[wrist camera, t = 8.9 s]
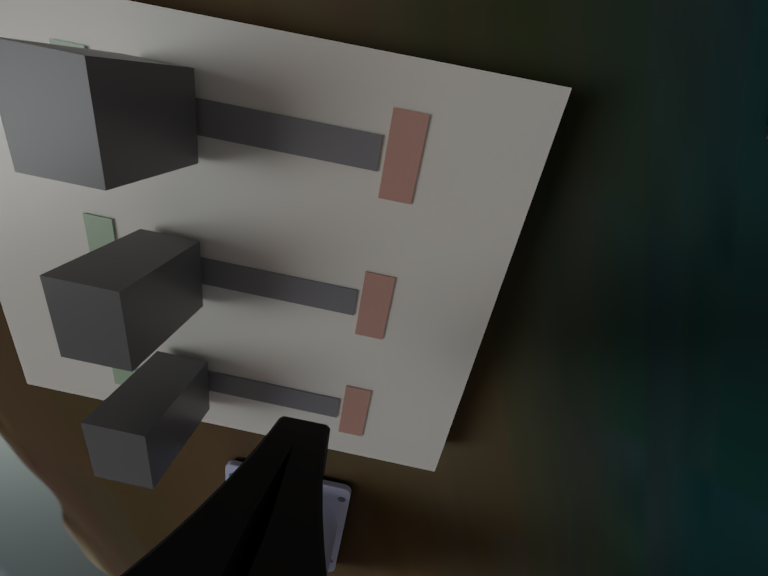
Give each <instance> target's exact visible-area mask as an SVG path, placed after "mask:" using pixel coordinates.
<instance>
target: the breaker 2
mask: <svg viewBox="0 0 768 576" xmlns="http://www.w3.org/2000/svg"><path fill="white" fill-rule="evenodd" d="M209 409H210V405H209V383H208V362H207V361H202V360H198V359H193V358H188V357H183V356H179V355H174V354H169V353H165V352H160V351H157V352H156V353H155V354H153V355H152V356H151V357H150V358H149V359H148V360H147V361H146V362H145V363H144V364H143V365H142V366H141V367H140V368H139V369H137V370H136V371H135V372H134V373H133V374H132V375H131V376H130V377H129V378H128V379H127V380H126V381H125V382H124V383H122V384H121V385H120V386H119V387H118V388H117V389H116V390H115V391H114V392H113V393H112V394H111V395H110V396H109V397H108V398H106V399H105V400H104V401H103V402H102V403H101V404H100V405H99V406H98V407H97V408H96V409H95V410H94V411H93V412H92V413H90V414H89V415H88V416H87V417H86V418H85V419H84V420H83V421H82V422H81V425H82V429H83V433H84V437H85V441H86V444H87V448H88V452H89V456H90V460H91V464H92V467H93V471H94V475H95V476H96V477H101V478H105V479H110V480H114V481H119V482H124V483H128V484H133V485H137V486H142V487H146V488H151V489H154V487H155V486H156V484H157V483H158V481H159V480H160V479H161V477H162V476H163V474H164V473H165V472H166V470H167V469H168V467H169V466H170V464H171V463H172V462H173V460H174V459H175V457H176V456H177V455H178V453H179V452H180V450H181V449H182V447H183V446H184V445H185V443H186V442H187V440H188V439H189V437H190V436H191V435H192V433H193V432H194V430H195V429H196V428H197V426H198V425H199V423H200V422H201V420H202V419H203V418H204V416H205V415H206V413H207V412H208V410H209Z"/></svg>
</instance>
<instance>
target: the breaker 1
mask: <svg viewBox="0 0 768 576" xmlns="http://www.w3.org/2000/svg"><path fill="white" fill-rule="evenodd" d="M0 116H1V120H2V124H3V127H4V131H5V135H6V139H7V143H8V147H9V150H10V154H11V158H12V162H13V166H14V169H15V172H18V173H23V174H28V175H32V176H37V177H42V178H47V179H52V180H57V181H62V182H66V183H71V184H76V185H81V186H86V187H91V188H95V189H100V190H105V191H106V190H110V189H113V188H117V187H120V186H123V185H127V184H130V183H134V182H137V181H140V180H144V179H147V178H151V177H154V176H157V175H161V174H164V173H168V172H171V171H174V170H178V169H181V168H184V167H188V166H191V165H195V164H198V143H197V121H196V99H195V77H194V68H192V67H187V66H182V65H177V64H172V63H167V62H162V61H157V60H152V59H147V58H142V57H137V56H132V55H127V54H122V53H115V52H107V51H100V50H93V49H85V48H78V47H70V46H63V45H55V44H48V43H40V42H33V41H26V40H18V39H11V38H3V37H0Z"/></svg>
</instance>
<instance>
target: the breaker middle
mask: <svg viewBox="0 0 768 576" xmlns="http://www.w3.org/2000/svg"><path fill="white" fill-rule="evenodd" d="M40 279H41V283H42V287H43V290H44V294H45V298H46V302H47V306H48V309H49V313H50V317H51V321H52V324H53V328H54V332H55V336H56V339H57V343H58V347H59V351H60V355H61V357H65V358H70V359H74V360H79V361H84V362H88V363H93V364H98V365H102V366H107V367H112V368H116V369H121V370H126V371H130V372H133V371H134V370H135V369H136V368H137V367H138V366H139V365H140V364H141V363H142V362H143V361H144V360H145V359H147V358H148V357H149V356H150V355H151V354H152V353H153V352H154V351H155V350H156V349H157V348H158V347H159V346H161V345H162V344H163V343H164V342H165V341H166V340H167V339H168V338H169V337H170V336H171V335H172V334H174V333H175V332H176V331H177V330H178V329H179V328H180V327H181V326H182V325H183V324H184V323H185V322H186V321H188V320H189V319H190V318H191V317H192V316H193V315H194V314H195V313H196V312H197V311H198V310H199V309H200V308H202V307H203V296H202V275H201V255H200V241H197V240H192V239H188V238H183V237H178V236H173V235H168V234H164V233H159V232H154V231H149V230H144V229H139V230H137V231H134V232H132V233H130V234H128V235H126V236H124V237H121V238H119V239H117V240H115V241H113V242H111V243H108V244H106V245H104V246H102V247H100V248H98V249H95V250H93V251H91V252H89V253H87V254H85V255H82V256H80V257H78V258H76V259H74V260H72V261H69V262H67V263H65V264H63V265H61V266H59V267H56V268H54V269H52V270H50V271H48V272H46V273H43V274H41V275H40Z"/></svg>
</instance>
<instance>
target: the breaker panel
mask: <svg viewBox="0 0 768 576" xmlns="http://www.w3.org/2000/svg"><path fill="white" fill-rule="evenodd" d="M0 37H3V38H11V39H18V40H26V41H33V42H40V43H48V44H55V45H63V46H70V47H78V48H85V49H93V50H100V51H107V52H115V53H122V54H127V55H132V56H137V57H142V58H147V59H152V60H157V61H162V62H167V63H172V64H177V65H182V66H187V67H192V68H194V77H195V99H196V121H197V143H198V164H195V165H191V166H188V167H184V168H181V169H178V170H174V171H171V172H168V173H164V174H161V175H157V176H154V177H151V178H147V179H144V180H140V181H137V182H134V183H130V184H127V185H123V186H120V187H117V188H113V189H110V190H106V191H105V190H100V189H95V188H91V187H86V186H81V185H76V184H71V183H66V182H62V181H57V180H52V179H47V178H42V177H37V176H32V175H28V174H23V173H18V172H15V169H14V166H13V162H12V158H11V154H10V150H9V147H8V143H7V139H6V135H5V131H4V127H3V124H2V120H1V116H0V302H1V305H2V308H3V311H4V314H5V317H6V320H7V323H8V326H9V329H10V332H11V335H12V338H13V341H14V344H15V347H16V350H17V353H18V356H19V359H20V362H21V365H22V368H23V372H24V375H25V378H26V381H27V384H31V385H36V386H40V387H45V388H50V389H54V390H59V391H63V392H68V393H73V394H77V395H82V396H87V397H91V398H96V399H101V400H105V399H106V398H108V397H109V396H110V395H111V394H112V393H113V392H114V391H115V390H116V389H117V388H118V387H119V386H120V385H121V384H122V383H124V382H125V381H126V380H127V379H128V378H129V377H130V376H131V375H132V374H133V373H134V372H135V371H136V370H137V369H139V368H140V367H141V366H142V365H143V364H144V363H145V362H146V361H147V360H148V359H149V358H150V357H151V356H152V355H153V354H155V353H156V352H157V351H160V352H165V353H169V354H174V355H179V356H183V357H188V358H193V359H198V360H202V361H207V362H208V383H209V405H210V409H209V410H208V412H207V413H206V415H205V416H204V418H203V419H202V420H201V421H203V422H207V423H212V424H216V425H221V426H226V427H230V428H235V429H240V430H244V431H249V432H254V433H258V434H263V435H267V433H268V432H269V431H270V430H271V428H272V427H273V426H274V425H275V423H276V422H277V420H278V419H279V418H280V417H282V416H286V417H291V418H296V419H301V420H306V421H311V422H316V423H321V424H326V425H328V427H329V428H330V435H329V442H328V449H332V450H337V451H342V452H346V453H351V454H356V455H360V456H365V457H369V458H374V459H379V460H383V461H388V462H393V463H397V464H402V465H407V466H411V467H416V468H421V469H425V470H430V471H434V472H435V469H436V467H437V464H438V461H439V458H440V455H441V453H442V450H443V447H444V444H445V441H446V439H447V436H448V433H449V430H450V427H451V425H452V422H453V419H454V416H455V413H456V411H457V408H458V405H459V402H460V399H461V397H462V394H463V391H464V388H465V385H466V383H467V380H468V377H469V374H470V372H471V369H472V366H473V363H474V360H475V358H476V355H477V352H478V349H479V346H480V344H481V341H482V338H483V335H484V332H485V330H486V327H487V324H488V321H489V318H490V316H491V313H492V310H493V307H494V304H495V302H496V299H497V296H498V293H499V290H500V288H501V285H502V282H503V279H504V277H505V274H506V271H507V268H508V265H509V263H510V260H511V257H512V254H513V251H514V249H515V246H516V243H517V240H518V237H519V235H520V232H521V229H522V226H523V223H524V221H525V218H526V215H527V212H528V209H529V207H530V204H531V201H532V198H533V195H534V193H535V190H536V187H537V184H538V182H539V179H540V176H541V173H542V170H543V168H544V165H545V162H546V159H547V156H548V154H549V151H550V148H551V145H552V142H553V140H554V137H555V134H556V131H557V128H558V126H559V123H560V120H561V117H562V114H563V112H564V109H565V106H566V103H567V100H568V98H569V95H570V92H571V89H572V88H569V87H564V86H559V85H554V84H549V83H544V82H539V81H534V80H529V79H524V78H519V77H514V76H508V75H503V74H498V73H493V72H488V71H483V70H478V69H473V68H468V67H463V66H458V65H453V64H448V63H443V62H438V61H433V60H428V59H423V58H417V57H412V56H407V55H402V54H397V53H392V52H387V51H382V50H377V49H372V48H367V47H362V46H357V45H352V44H347V43H342V42H337V41H332V40H326V39H321V38H316V37H311V36H306V35H301V34H296V33H291V32H286V31H281V30H276V29H271V28H266V27H261V26H256V25H251V24H246V23H241V22H235V21H230V20H225V19H220V18H215V17H210V16H205V15H200V14H195V13H190V12H185V11H180V10H175V9H170V8H165V7H160V6H155V5H150V4H144V3H139V2H134V1H129V0H0ZM139 229H144V230H149V231H154V232H159V233H164V234H168V235H173V236H178V237H183V238H188V239H192V240H197V241H200V255H201V275H202V296H203V307H202V308H200V309H199V310H198V311H197V312H196V313H195V314H194V315H193V316H192V317H191V318H190V319H189V320H188V321H186V322H185V323H184V324H183V325H182V326H181V327H180V328H179V329H178V330H177V331H176V332H175V333H174V334H172V335H171V336H170V337H169V338H168V339H167V340H166V341H165V342H164V343H163V344H162V345H161V346H159V347H158V348H157V349H156V350H155V351H154V352H153V353H152V354H151V355H150V356H149V357H148V358H147V359H145V360H144V361H143V362H142V363H141V364H140V365H139V366H138V367H137V368H136V369H135V370H134V371H133V372H130V371H126V370H121V369H116V368H112V367H107V366H102V365H98V364H93V363H88V362H84V361H79V360H74V359H70V358H65V357H61V355H60V351H59V347H58V343H57V339H56V336H55V332H54V328H53V324H52V321H51V317H50V313H49V309H48V306H47V302H46V298H45V294H44V290H43V287H42V283H41V279H40V275H41V274H43V273H46V272H48V271H50V270H52V269H54V268H56V267H59V266H61V265H63V264H65V263H67V262H69V261H72V260H74V259H76V258H78V257H80V256H82V255H85V254H87V253H89V252H91V251H93V250H95V249H98V248H100V247H102V246H104V245H106V244H108V243H111V242H113V241H115V240H117V239H119V238H121V237H124V236H126V235H128V234H130V233H132V232H134V231H137V230H139Z"/></svg>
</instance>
